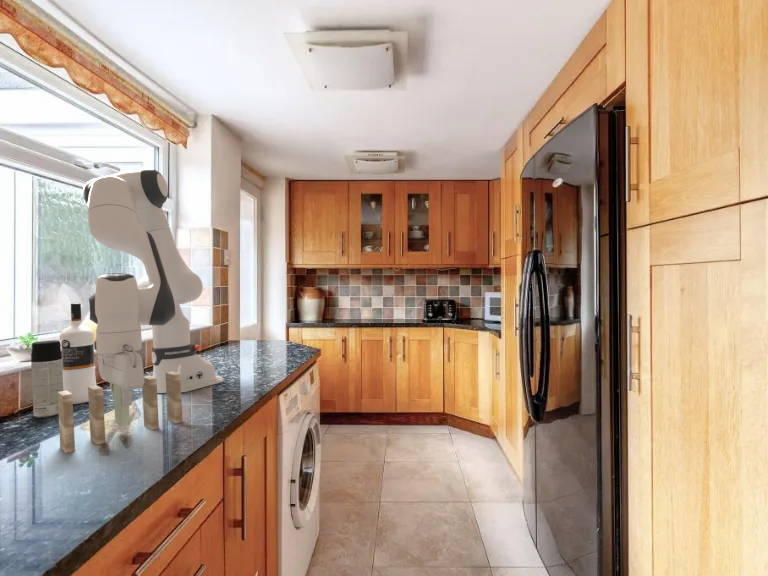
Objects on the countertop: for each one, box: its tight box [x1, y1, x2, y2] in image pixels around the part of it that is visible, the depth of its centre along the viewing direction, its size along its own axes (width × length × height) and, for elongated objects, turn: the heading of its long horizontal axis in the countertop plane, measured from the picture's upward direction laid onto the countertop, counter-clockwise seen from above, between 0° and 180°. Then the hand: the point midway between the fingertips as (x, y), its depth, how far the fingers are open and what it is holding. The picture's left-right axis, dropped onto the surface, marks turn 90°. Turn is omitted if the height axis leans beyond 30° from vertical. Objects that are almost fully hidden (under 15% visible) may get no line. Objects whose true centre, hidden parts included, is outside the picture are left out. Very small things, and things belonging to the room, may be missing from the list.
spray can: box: [30, 339, 64, 418], centre depth 115 cm, size 7×7×20 cm
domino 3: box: [113, 385, 131, 427], centre depth 97 cm, size 2×5×12 cm, turn 48°
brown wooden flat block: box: [88, 384, 106, 446], centre depth 93 cm, size 2×5×12 cm, turn 48°
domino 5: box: [165, 372, 183, 424], centre depth 105 cm, size 2×5×12 cm, turn 48°
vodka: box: [59, 302, 97, 405], centre depth 128 cm, size 9×9×30 cm
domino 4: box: [141, 375, 160, 431], centre depth 101 cm, size 2×5×12 cm, turn 48°
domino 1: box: [57, 390, 76, 454], centre depth 89 cm, size 2×5×12 cm, turn 48°
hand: (122, 403), depth 97 cm, fingers closed on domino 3, 5 cm apart
